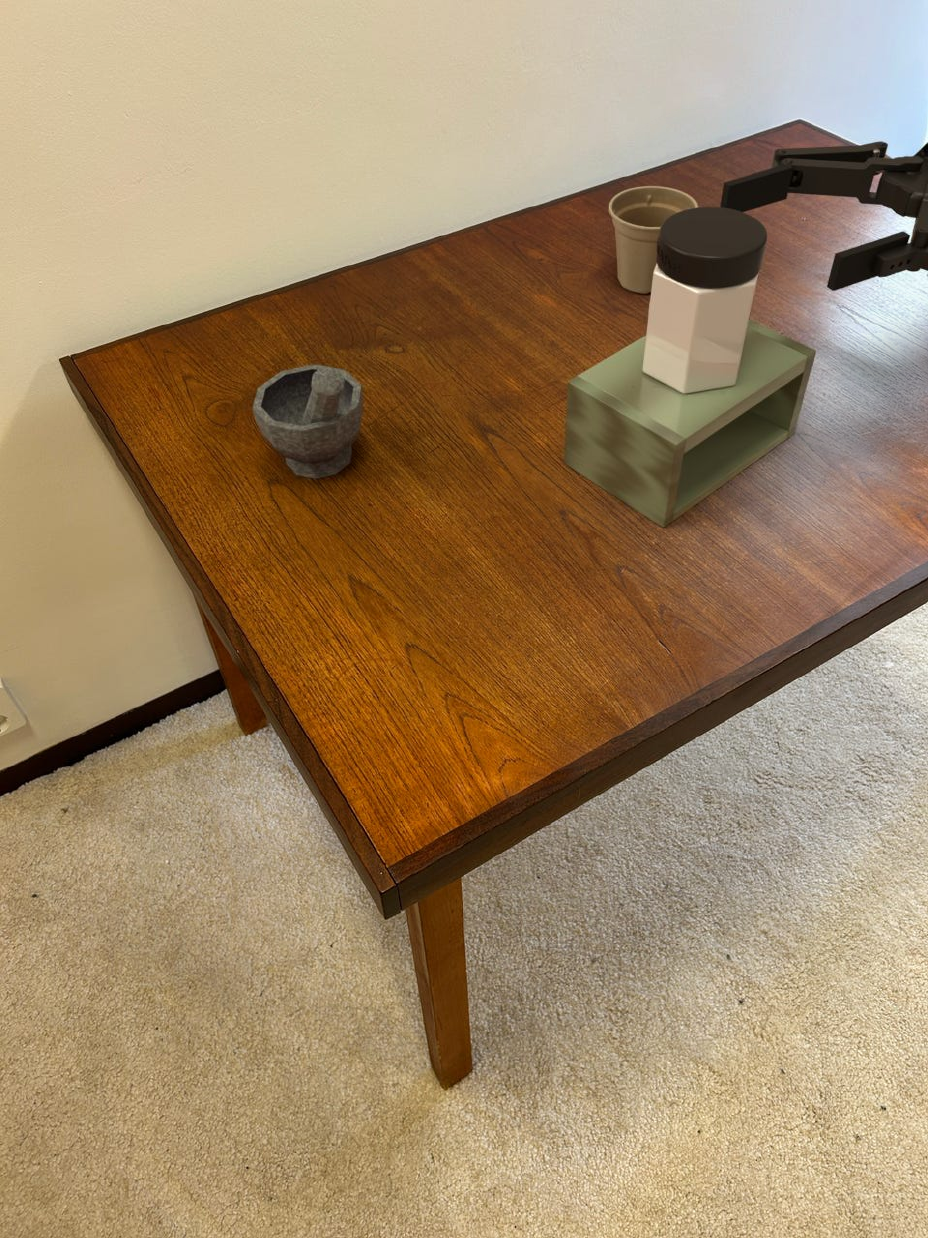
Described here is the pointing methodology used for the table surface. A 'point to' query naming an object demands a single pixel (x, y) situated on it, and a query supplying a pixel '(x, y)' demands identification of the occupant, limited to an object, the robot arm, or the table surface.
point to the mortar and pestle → (311, 417)
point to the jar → (702, 297)
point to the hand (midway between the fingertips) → (775, 234)
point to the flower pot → (642, 230)
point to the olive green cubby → (682, 424)
